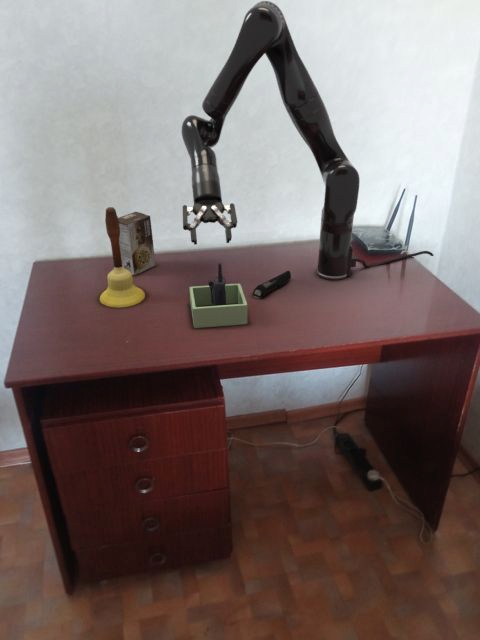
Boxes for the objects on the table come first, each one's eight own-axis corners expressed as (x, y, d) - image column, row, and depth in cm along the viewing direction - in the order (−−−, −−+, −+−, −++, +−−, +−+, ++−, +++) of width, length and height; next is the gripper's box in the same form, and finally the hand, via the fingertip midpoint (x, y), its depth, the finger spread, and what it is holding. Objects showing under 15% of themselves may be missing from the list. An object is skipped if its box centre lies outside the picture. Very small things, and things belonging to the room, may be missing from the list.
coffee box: (141, 261, 173) (136, 210, 165) (156, 266, 170) (151, 215, 161) (119, 270, 167) (112, 218, 158) (134, 275, 164) (127, 223, 155)
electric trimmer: (294, 281, 162) (294, 271, 161) (262, 299, 152) (262, 289, 150) (283, 278, 164) (284, 268, 163) (251, 295, 154) (251, 285, 152)
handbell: (154, 293, 154) (145, 206, 140) (123, 311, 145) (110, 219, 132) (121, 283, 159) (109, 198, 146) (89, 300, 150) (74, 210, 137)
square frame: (240, 301, 151) (240, 283, 148) (247, 324, 140) (247, 304, 137) (190, 305, 149) (189, 286, 146) (193, 328, 138) (192, 308, 135)
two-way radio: (226, 319, 142) (225, 265, 134) (209, 319, 142) (207, 265, 134) (226, 309, 147) (224, 256, 139) (209, 309, 147) (207, 257, 138)
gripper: (179, 180, 143) (184, 238, 139) (233, 178, 145) (240, 235, 141) (179, 194, 150) (184, 249, 147) (231, 192, 152) (237, 247, 149)
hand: (211, 242), depth 144 cm, fingers open, 8 cm apart
